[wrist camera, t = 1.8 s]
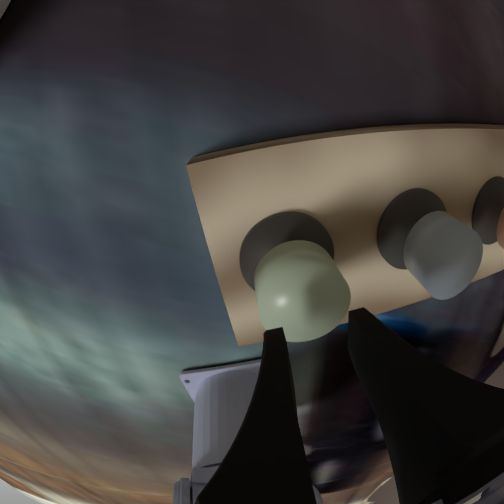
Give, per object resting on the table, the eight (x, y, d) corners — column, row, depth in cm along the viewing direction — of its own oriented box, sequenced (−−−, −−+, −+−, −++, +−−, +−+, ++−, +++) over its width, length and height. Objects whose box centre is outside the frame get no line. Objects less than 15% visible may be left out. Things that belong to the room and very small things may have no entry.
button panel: (492, 254, 21) (510, 269, 18) (237, 323, 21) (239, 350, 19) (503, 125, 15) (528, 131, 13) (191, 157, 16) (184, 166, 13)
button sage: (335, 300, 15) (350, 330, 13) (261, 317, 15) (267, 349, 13) (331, 232, 14) (350, 256, 11) (246, 250, 14) (250, 278, 11)
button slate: (452, 267, 15) (475, 288, 13) (400, 283, 15) (421, 308, 13) (460, 205, 13) (488, 222, 11) (404, 217, 13) (431, 237, 11)
